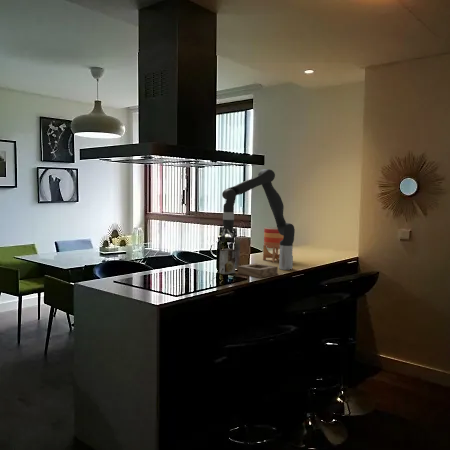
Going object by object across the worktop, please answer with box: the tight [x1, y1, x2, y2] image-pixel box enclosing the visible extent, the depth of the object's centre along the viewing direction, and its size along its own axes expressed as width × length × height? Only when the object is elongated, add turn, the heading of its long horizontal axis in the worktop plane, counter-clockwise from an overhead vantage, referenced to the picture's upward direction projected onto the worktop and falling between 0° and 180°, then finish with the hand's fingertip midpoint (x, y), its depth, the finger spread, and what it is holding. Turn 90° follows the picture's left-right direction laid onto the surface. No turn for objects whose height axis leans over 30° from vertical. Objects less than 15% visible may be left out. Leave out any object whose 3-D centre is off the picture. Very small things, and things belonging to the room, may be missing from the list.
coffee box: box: [219, 248, 236, 275], centre depth 300 cm, size 9×6×16 cm
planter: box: [262, 226, 284, 263], centre depth 359 cm, size 20×20×27 cm
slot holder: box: [237, 263, 279, 279], centre depth 299 cm, size 19×19×5 cm
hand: (227, 242), depth 299 cm, fingers open, 8 cm apart
